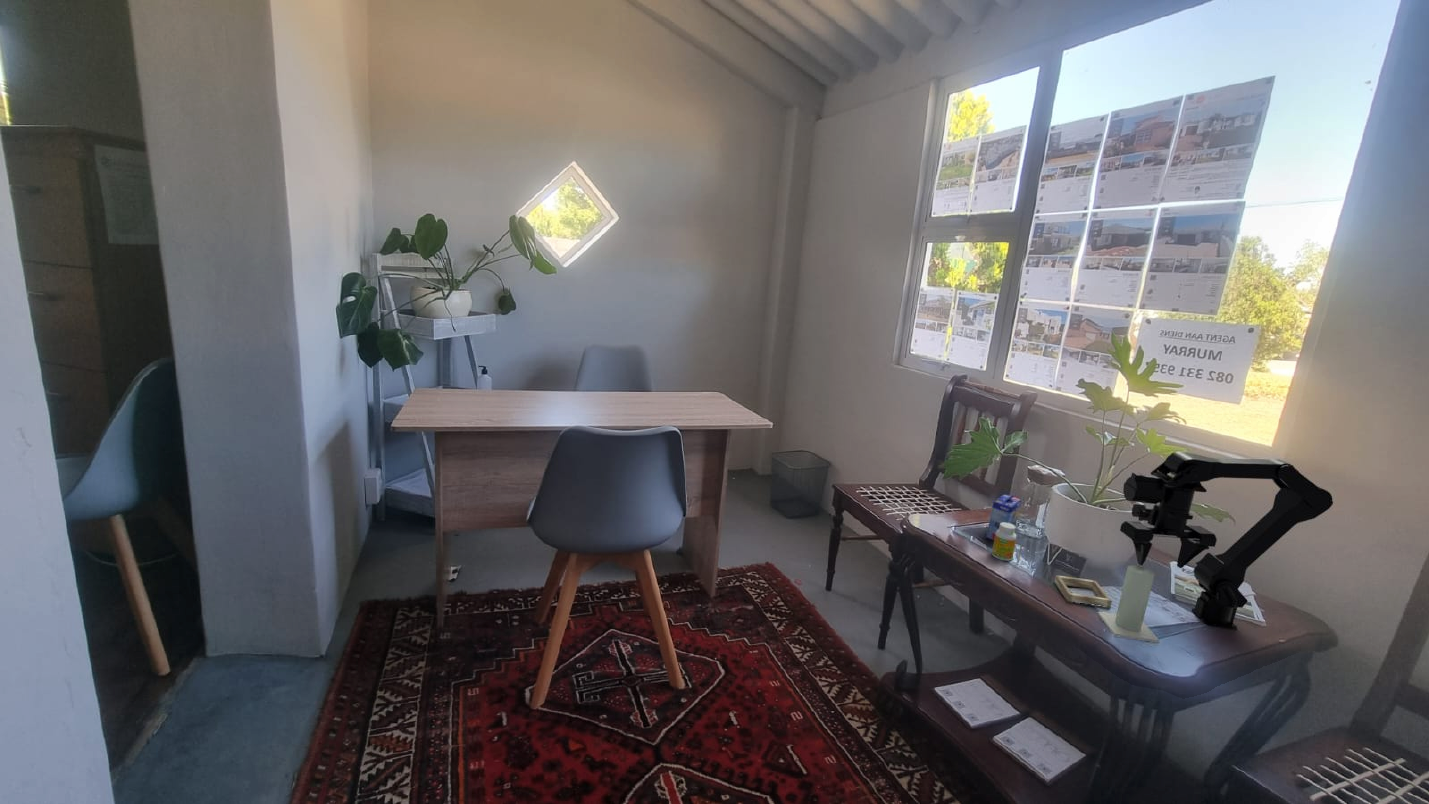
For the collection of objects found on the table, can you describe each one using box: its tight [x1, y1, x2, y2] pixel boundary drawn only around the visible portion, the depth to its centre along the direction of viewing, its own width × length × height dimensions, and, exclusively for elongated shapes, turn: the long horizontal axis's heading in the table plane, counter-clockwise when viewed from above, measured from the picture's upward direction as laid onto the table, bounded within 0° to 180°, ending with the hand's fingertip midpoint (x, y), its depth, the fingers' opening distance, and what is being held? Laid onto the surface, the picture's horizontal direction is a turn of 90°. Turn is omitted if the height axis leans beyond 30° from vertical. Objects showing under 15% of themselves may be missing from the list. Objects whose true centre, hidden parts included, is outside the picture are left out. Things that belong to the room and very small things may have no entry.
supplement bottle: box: [991, 522, 1017, 562], centre depth 165 cm, size 5×5×10 cm
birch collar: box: [1053, 575, 1113, 609], centre depth 148 cm, size 10×10×2 cm
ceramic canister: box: [1115, 565, 1155, 632], centre depth 133 cm, size 5×5×14 cm
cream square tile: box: [1097, 611, 1160, 644], centre depth 135 cm, size 9×9×1 cm
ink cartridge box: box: [985, 492, 1022, 541], centre depth 178 cm, size 10×6×14 cm, turn 136°
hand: (1159, 565), depth 140 cm, fingers open, 9 cm apart
